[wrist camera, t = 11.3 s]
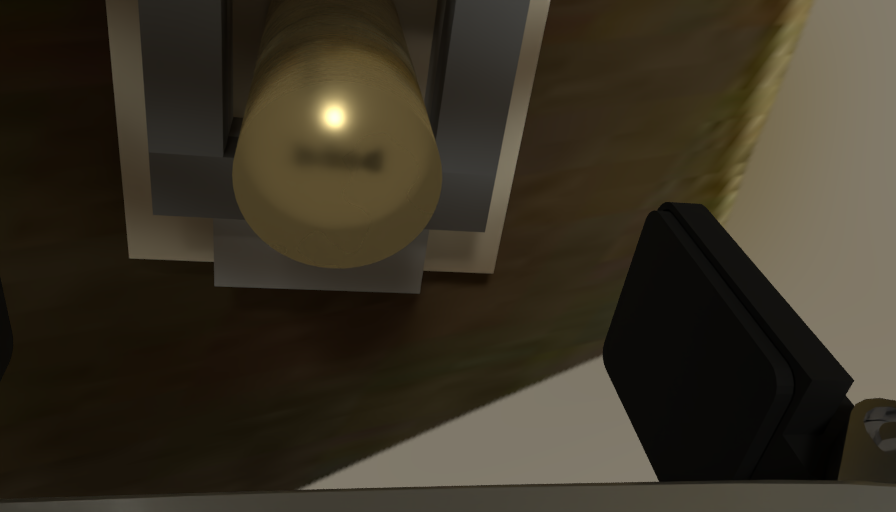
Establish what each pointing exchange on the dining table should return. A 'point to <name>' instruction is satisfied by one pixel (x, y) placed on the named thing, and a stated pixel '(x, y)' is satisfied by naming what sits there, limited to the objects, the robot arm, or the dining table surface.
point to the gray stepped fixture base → (222, 110)
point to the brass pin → (336, 136)
